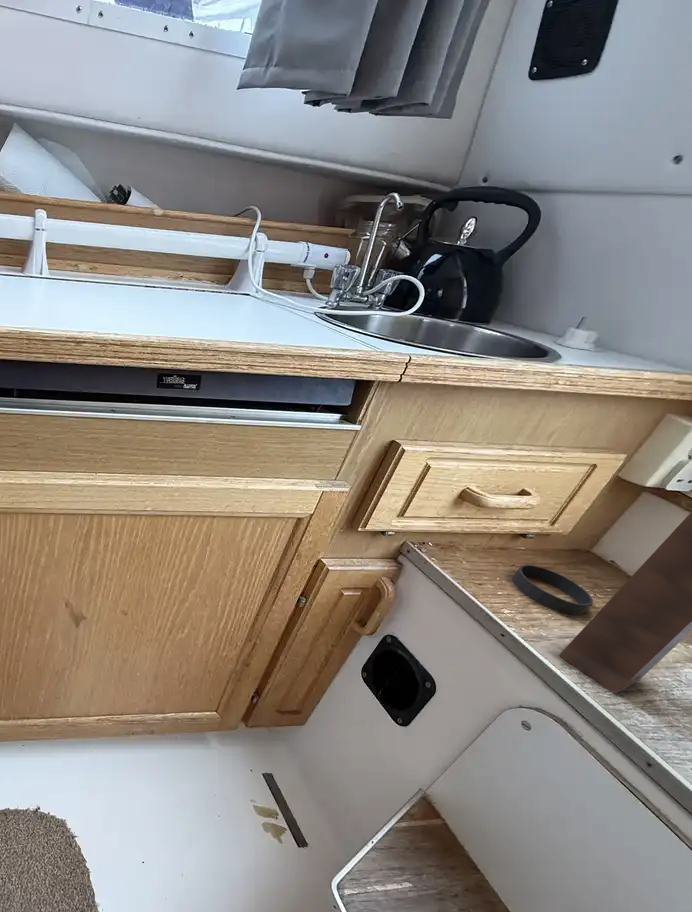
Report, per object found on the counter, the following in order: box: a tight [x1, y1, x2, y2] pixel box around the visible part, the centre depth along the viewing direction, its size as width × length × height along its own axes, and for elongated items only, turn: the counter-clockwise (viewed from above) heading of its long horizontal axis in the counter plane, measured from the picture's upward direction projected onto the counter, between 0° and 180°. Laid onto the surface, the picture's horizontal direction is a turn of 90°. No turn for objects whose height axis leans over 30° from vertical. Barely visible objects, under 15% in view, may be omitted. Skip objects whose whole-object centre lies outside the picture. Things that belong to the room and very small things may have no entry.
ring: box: [511, 564, 594, 616], centre depth 86 cm, size 9×9×2 cm
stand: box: [558, 511, 692, 695], centre depth 64 cm, size 6×6×32 cm
